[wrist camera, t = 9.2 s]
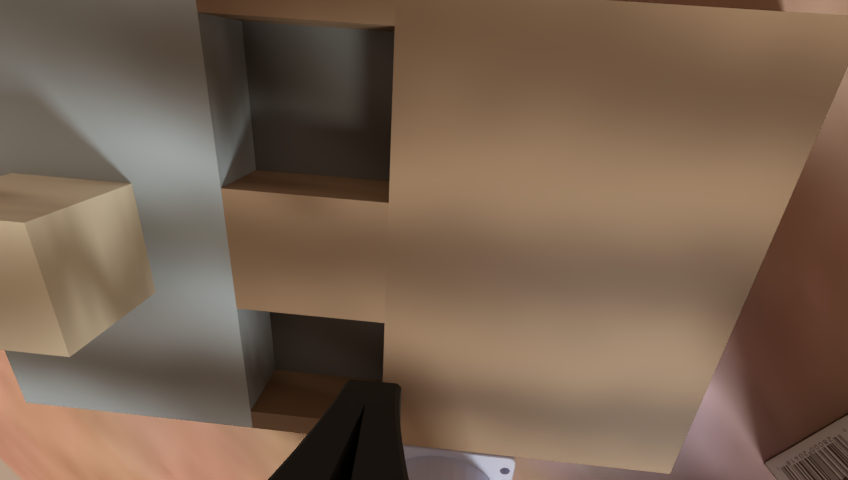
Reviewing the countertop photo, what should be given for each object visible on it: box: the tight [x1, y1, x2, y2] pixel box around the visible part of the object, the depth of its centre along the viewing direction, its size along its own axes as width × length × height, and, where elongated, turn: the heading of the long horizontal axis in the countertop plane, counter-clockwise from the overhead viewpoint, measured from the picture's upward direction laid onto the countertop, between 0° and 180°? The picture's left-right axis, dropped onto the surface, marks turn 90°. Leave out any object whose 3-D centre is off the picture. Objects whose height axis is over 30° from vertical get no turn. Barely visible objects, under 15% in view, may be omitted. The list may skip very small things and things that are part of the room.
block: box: [0, 173, 156, 357], centre depth 14 cm, size 4×4×4 cm
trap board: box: [0, 0, 848, 474], centre depth 17 cm, size 18×30×3 cm, turn 86°
